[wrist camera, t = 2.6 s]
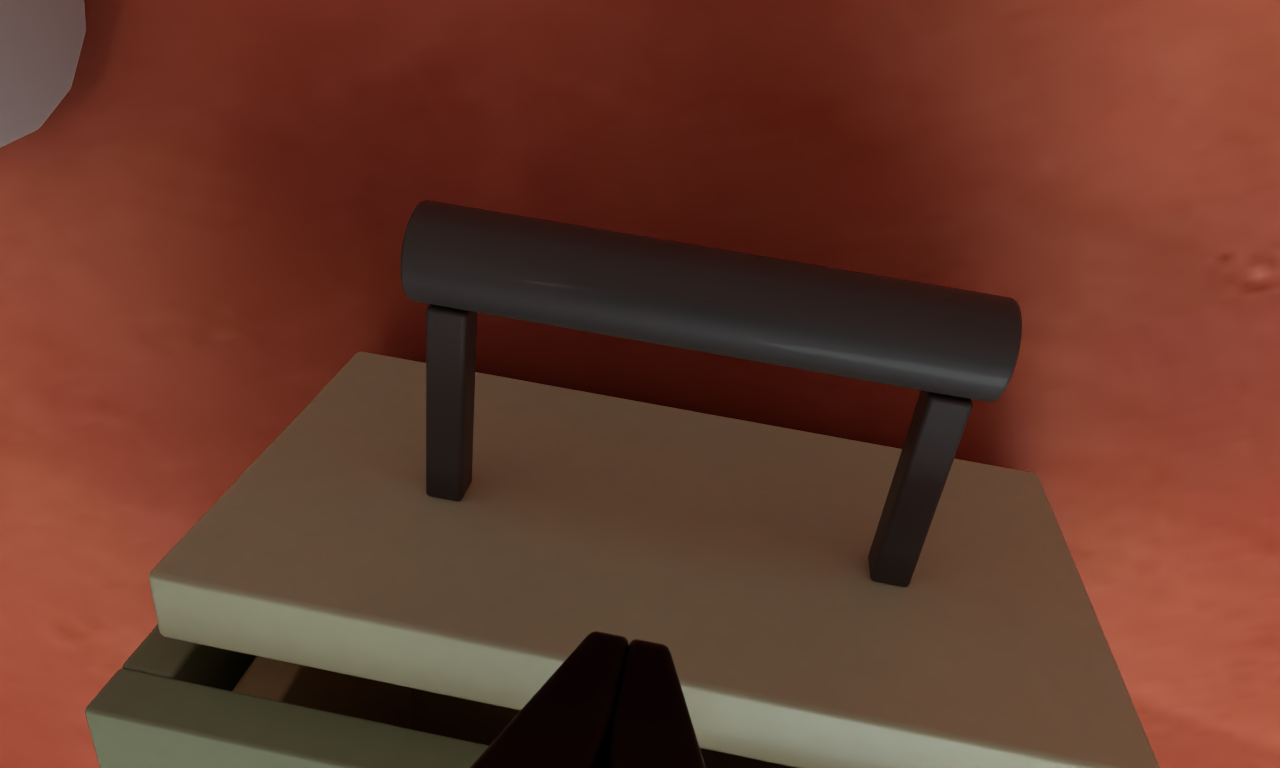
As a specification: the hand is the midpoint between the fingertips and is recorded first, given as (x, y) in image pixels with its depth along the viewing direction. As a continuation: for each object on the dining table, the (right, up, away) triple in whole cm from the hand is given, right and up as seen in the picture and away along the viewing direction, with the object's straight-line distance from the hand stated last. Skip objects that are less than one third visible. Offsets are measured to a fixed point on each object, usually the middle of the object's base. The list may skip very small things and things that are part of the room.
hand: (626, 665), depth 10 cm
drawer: (0, -2, +10) cm, 10 cm away
